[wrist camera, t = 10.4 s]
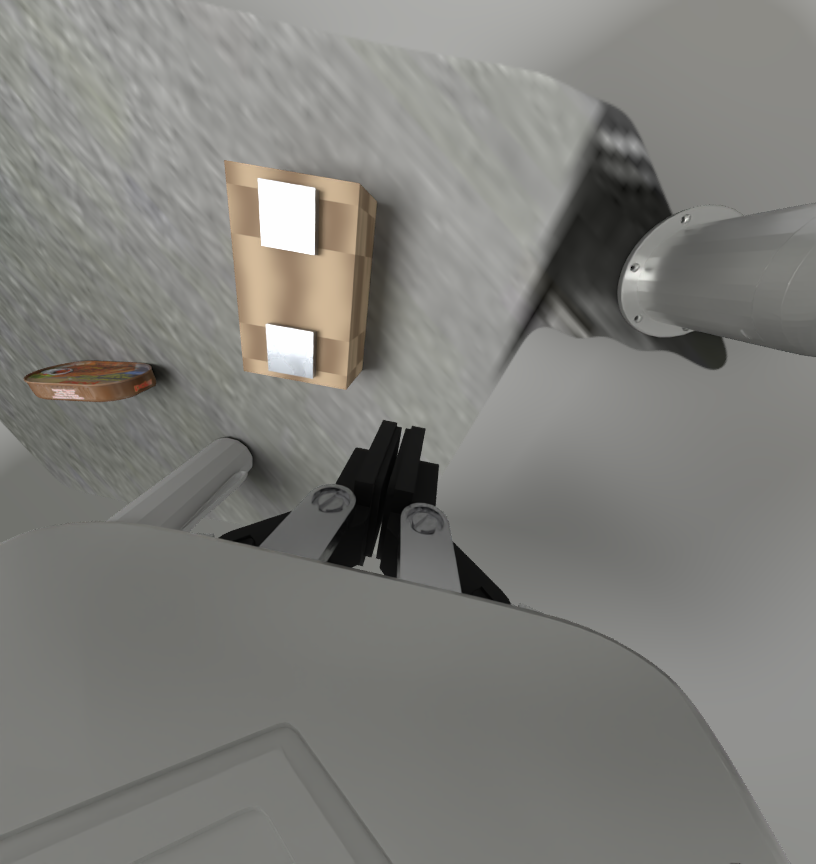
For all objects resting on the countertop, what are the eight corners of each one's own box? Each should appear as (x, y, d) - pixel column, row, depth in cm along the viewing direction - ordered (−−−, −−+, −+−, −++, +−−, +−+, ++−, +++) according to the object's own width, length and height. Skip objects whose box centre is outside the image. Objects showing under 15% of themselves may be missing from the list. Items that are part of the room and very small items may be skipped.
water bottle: (220, 473, 54) (64, 614, 32) (206, 432, 50) (19, 559, 28) (271, 475, 53) (147, 622, 31) (260, 434, 49) (112, 567, 27)
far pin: (338, 320, 40) (313, 332, 32) (336, 359, 42) (312, 378, 34) (299, 313, 40) (265, 323, 32) (299, 352, 42) (268, 370, 34)
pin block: (377, 201, 34) (359, 183, 27) (362, 370, 43) (346, 389, 36) (269, 183, 34) (224, 160, 27) (276, 354, 43) (243, 370, 36)
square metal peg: (343, 206, 34) (315, 187, 27) (341, 258, 36) (314, 254, 29) (298, 198, 34) (257, 178, 27) (299, 250, 36) (261, 245, 29)
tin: (165, 363, 46) (111, 381, 38) (172, 384, 47) (121, 405, 40) (71, 359, 47) (1, 375, 39) (81, 379, 48) (15, 399, 41)
